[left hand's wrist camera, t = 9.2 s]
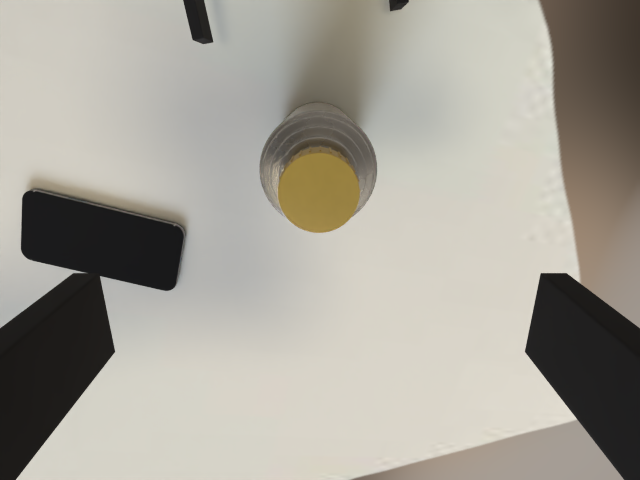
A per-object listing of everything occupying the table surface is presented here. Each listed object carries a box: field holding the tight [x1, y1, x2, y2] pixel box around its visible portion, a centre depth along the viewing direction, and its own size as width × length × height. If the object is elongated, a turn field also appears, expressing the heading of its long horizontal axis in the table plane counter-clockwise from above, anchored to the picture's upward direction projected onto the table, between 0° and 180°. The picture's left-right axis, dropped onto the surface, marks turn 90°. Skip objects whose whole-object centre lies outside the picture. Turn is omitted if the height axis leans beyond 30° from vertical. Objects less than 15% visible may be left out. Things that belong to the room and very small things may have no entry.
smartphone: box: [21, 189, 185, 291], centre depth 40 cm, size 7×1×15 cm
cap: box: [277, 146, 360, 233], centre depth 20 cm, size 4×4×2 cm
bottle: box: [260, 102, 377, 218], centre depth 28 cm, size 7×7×20 cm
